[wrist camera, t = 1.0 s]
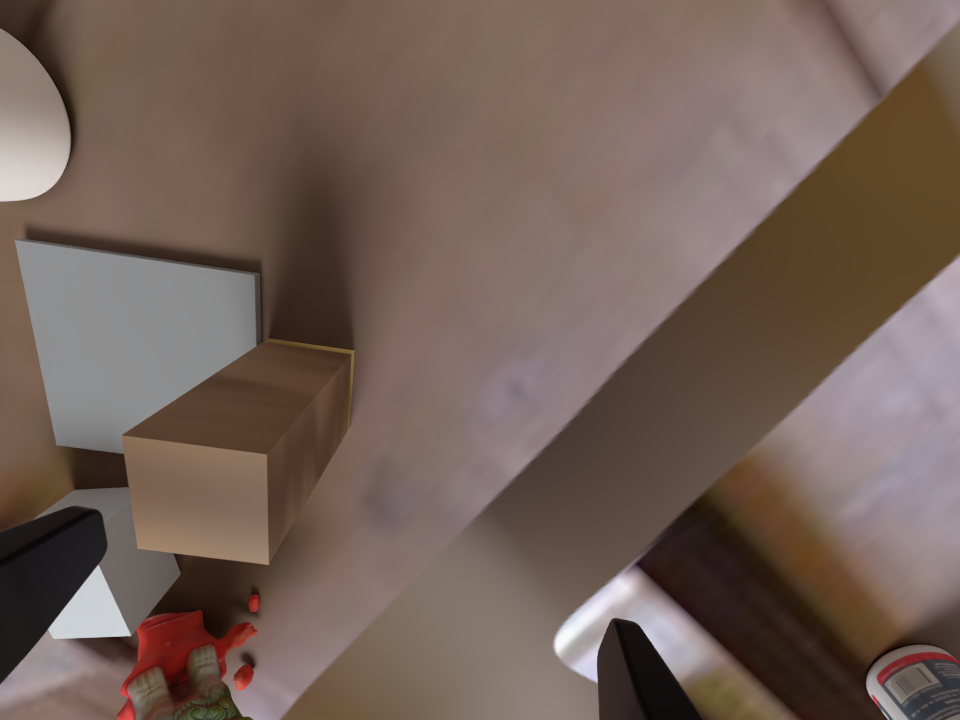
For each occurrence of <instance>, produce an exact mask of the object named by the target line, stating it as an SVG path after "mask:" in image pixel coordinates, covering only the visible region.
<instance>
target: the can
mask: <svg viewBox="0 0 960 720" xmlns="http://www.w3.org/2000/svg"><path fill="white" fill-rule="evenodd" d="M71 142H72V136H71V126H70V120H69V116H68V113H67V110H66V107H65V104H64V102H63V99H62V97H61V95H60V93H59V91H58V89H57V87H56V86H55V84H54V82H53V81H52V79H51V78H50V76H49V74H48V73H47V72H46V70H45V69H44V67H43V66H42V65H41V63H40V62H39V61H38V60H37V59H36V57H35V56H34V55H33V54H32V53H31V52H30V51H29V50H28V49H27V48H26V47H25V46H24V45H23V44H21V43H20V42H19V41H18V40H17V39H15V38H14V37H13V36H11V35H10V34H9V33H7V32H6V31H4V30H2V29H1V28H0V201H18V200H26V199H30V198H34V197H36V196H39V195H41V194H43V193H44V192H46V191H47V190H49V189H50V188H51V187H52V186H53V185H54V184H55V183H56V182H57V181H58V180H59V178H60V177H61V175H62V173H63V172H64V169H65V167H66V165H67V162H68V159H69V156H70V151H71Z"/></svg>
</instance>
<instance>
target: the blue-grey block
mask: <svg viewBox="0 0 960 720" xmlns="http://www.w3.org/2000/svg"><path fill="white" fill-rule="evenodd" d="M77 505H78V506H84V507H89V508H94V509H97V510H99V511H100V512H101V513H102V516H103V520H104V526H105V531H106V536H107V542H108V547H107V551H106V554H105V556H104V557H103V559H102V560H101V562H100V563H99V564H98V566H97V567H96V568H95V570H94V571H93V572H92V573H91V575H90V576H89V577H88V579H87V580H86V581H85V582H84V584H83V585H82V586H81V587H80V589H79V590H78V591H77V593H76V594H75V595H74V596H73V598H72V599H71V600H70V602H69V603H68V604H67V605H66V607H65V608H64V609H63V611H62V612H61V613H60V614H59V616H58V617H57V618H56V620H55V621H54V622H53V623H52V625H51V626H50V627H49V629H48V630H49V632H50V634H51V636H52V637H53V639H65V638H91V637H116V636H132V634H133V633H134V632H135V631H136V629H137V628H138V627H139V626H140V624H141V623H142V622H143V621H144V619H145V618H146V617H147V616H148V614H149V613H150V612H151V611H152V609H153V608H154V607H155V606H156V604H157V603H158V602H159V601H160V600H161V598H162V597H163V596H164V595H165V593H166V592H167V591H168V590H169V588H170V587H171V586H172V585H173V583H174V582H175V581H176V580H177V578H178V577H179V576H180V575H181V573H180V570H179V567H178V565H177V562H176V560H175V557H174V554H173V553H168V552H160V551H152V550H144V549H138V547H137V540H136V533H135V526H134V519H133V512H132V506H131V499H130V492H129V487H121V488H102V489H84V490H74V491H72V492H71V493H69V494H68V495H67V496H65V497H64V498H62V499H61V500H60V501H58V502H57V503H55V504H54V505H53V506H51V507H50V508H48V509H47V510H46V511H44V512H43V513H42V514H40V515H39V516H37V517H36V518H35V519H37V518H39V517H42V516H45V515H47V514H50V513H53V512H56V511H58V510H61V509H64V508H67V507H70V506H77ZM33 520H34V519H33Z"/></svg>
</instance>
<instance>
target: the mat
mask: <svg viewBox="0 0 960 720" xmlns="http://www.w3.org/2000/svg"><path fill="white" fill-rule="evenodd" d="M15 243H16V248H17V253H18V258H19V263H20V268H21V273H22V277H23V282H24V287H25V292H26V297H27V302H28V307H29V312H30V317H31V322H32V327H33V332H34V337H35V341H36V346H37V351H38V356H39V361H40V366H41V371H42V376H43V381H44V386H45V391H46V396H47V400H48V405H49V410H50V415H51V420H52V425H53V430H54V435H55V440H56V445H59V446H67V447H74V448H82V449H90V450H97V451H105V452H113V453H121V454H124V450H123V443H122V436H121V435H123V434H124V433H126V432H127V431H129V430H130V429H132V428H133V427H135V426H136V425H138V424H139V423H141V422H142V421H144V420H145V419H147V418H148V417H150V416H151V415H153V414H154V413H156V412H157V411H159V410H160V409H162V408H163V407H165V406H167V405H168V404H170V403H171V402H173V401H174V400H176V399H177V398H179V397H180V396H182V395H183V394H185V393H186V392H188V391H189V390H191V389H192V388H194V387H195V386H197V385H198V384H200V383H201V382H203V381H204V380H206V379H207V378H209V377H210V376H212V375H213V374H215V373H217V372H218V371H220V370H221V369H223V368H224V367H226V366H227V365H229V364H230V363H232V362H233V361H235V360H236V359H238V358H239V357H241V356H242V355H244V354H245V353H247V352H248V351H250V350H251V349H253V348H254V347H256V346H257V345H259V344H260V343H261V297H260V273H255V272H248V271H241V270H234V269H228V268H221V267H214V266H207V265H200V264H194V263H187V262H180V261H173V260H166V259H159V258H153V257H146V256H139V255H132V254H125V253H118V252H112V251H105V250H98V249H91V248H84V247H78V246H71V245H64V244H57V243H50V242H43V241H37V240H30V239H21V240H15Z"/></svg>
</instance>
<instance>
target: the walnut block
mask: <svg viewBox="0 0 960 720" xmlns="http://www.w3.org/2000/svg"><path fill="white" fill-rule="evenodd" d="M353 369H354V350H347V349H340V348H333V347H326V346H319V345H312V344H305V343H298V342H291V341H284V340H277V339H270V338H268V339H267V340H265V341H263V342H262V343H260V344H259V345H257V346H256V347H254V348H253V349H251V350H250V351H248V352H247V353H245V354H244V355H242V356H241V357H239V358H238V359H236V360H235V361H233V362H232V363H230V364H229V365H227V366H226V367H224V368H223V369H221V370H220V371H218V372H217V373H215V374H213V375H212V376H210V377H209V378H207V379H206V380H204V381H203V382H201V383H200V384H198V385H197V386H195V387H194V388H192V389H191V390H189V391H188V392H186V393H185V394H183V395H182V396H180V397H179V398H177V399H176V400H174V401H173V402H171V403H170V404H168V405H167V406H165V407H163V408H162V409H160V410H159V411H157V412H156V413H154V414H153V415H151V416H150V417H148V418H147V419H145V420H144V421H142V422H141V423H139V424H138V425H136V426H135V427H133V428H132V429H130V430H129V431H127V432H126V433H124V434H123V435H121V436H122V443H123V450H124V457H125V464H126V471H127V478H128V485H129V492H130V499H131V506H132V512H133V519H134V526H135V533H136V540H137V547H138V549H144V550H152V551H160V552H168V553H176V554H184V555H193V556H201V557H209V558H217V559H225V560H233V561H242V562H250V563H258V564H266V565H269V564H270V562H271V560H272V559H273V557H274V555H275V554H276V552H277V550H278V548H279V547H280V545H281V543H282V542H283V540H284V538H285V536H286V535H287V533H288V531H289V530H290V528H291V526H292V525H293V523H294V521H295V519H296V518H297V516H298V514H299V513H300V511H301V509H302V507H303V506H304V504H305V502H306V501H307V499H308V497H309V496H310V494H311V492H312V490H313V489H314V487H315V485H316V484H317V482H318V480H319V479H320V477H321V475H322V473H323V472H324V470H325V468H326V467H327V465H328V463H329V461H330V460H331V458H332V456H333V455H334V453H335V451H336V450H337V448H338V446H339V444H340V443H341V441H342V439H343V438H344V436H345V434H346V432H347V431H348V429H349V427H350V425H351V406H352V388H353Z"/></svg>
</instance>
